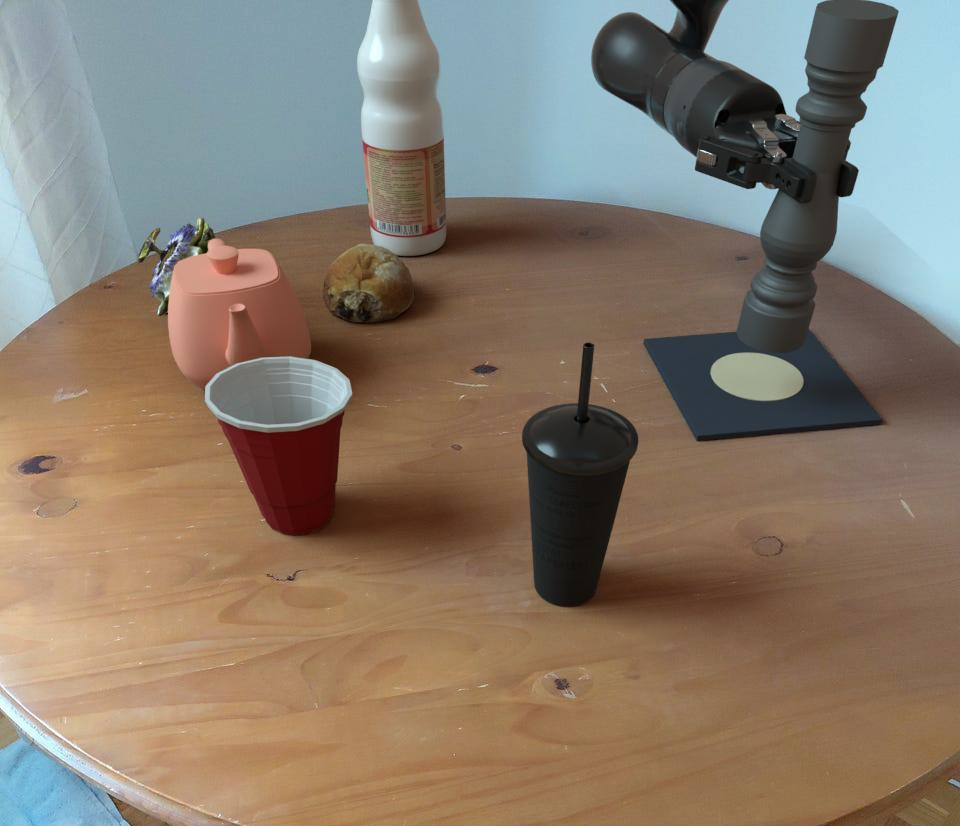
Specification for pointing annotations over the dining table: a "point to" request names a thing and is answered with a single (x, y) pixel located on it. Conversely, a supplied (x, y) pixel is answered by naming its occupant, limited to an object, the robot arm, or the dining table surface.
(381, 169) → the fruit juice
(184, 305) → the teapot
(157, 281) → the passion flower
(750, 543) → the dining table surface
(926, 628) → the dining table surface
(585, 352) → the drinking cup
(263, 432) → the plastic cup
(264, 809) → the dining table surface
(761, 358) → the placemat
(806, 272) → the candle holder
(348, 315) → the bread roll
